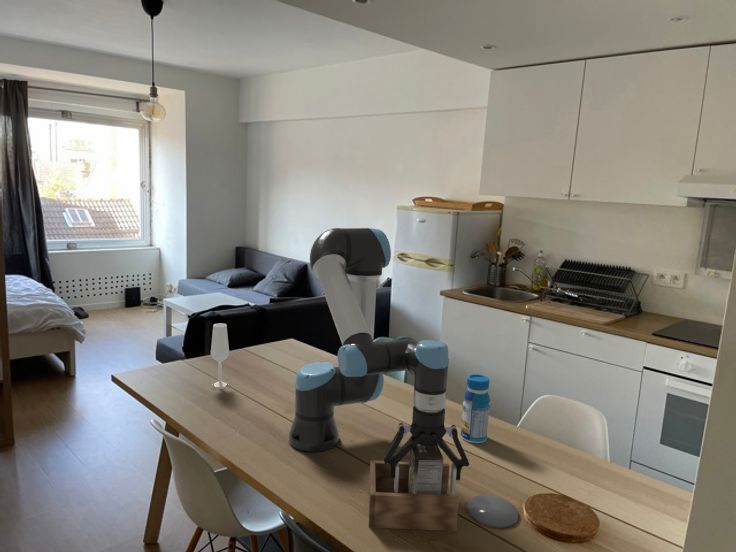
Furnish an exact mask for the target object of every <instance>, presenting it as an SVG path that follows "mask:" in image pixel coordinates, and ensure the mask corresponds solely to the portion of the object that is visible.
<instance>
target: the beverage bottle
mask: <svg viewBox="0 0 736 552" xmlns="http://www.w3.org/2000/svg"><path fill="white" fill-rule="evenodd" d="M466 387H467V390H466V391H465V392H464V394H463V402H462V416H461V430H460V437H461V438H462V440H463V441H465V442H467V443H471V444H482V443H485V442H486V441H487V439H488V430H489V429H488V427H489V416H490V410H491V407H490V403H491V397H490V396H491V395H490V394H489V392H488V390H489V388H490V378H489V377H488V376H486V375H483V374H477V373H476V374H475V373H474V374H469V375H468V376H467V379H466Z"/></svg>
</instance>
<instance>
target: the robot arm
mask: <svg viewBox="0 0 736 552" xmlns="http://www.w3.org/2000/svg"><path fill="white" fill-rule="evenodd" d="M391 249H392V248H391V244H390V241H389V239H388V237H387V235H386V233H385V232H384V231H382V230H381V229H377V228H372V227H371V228H370V227H357V228H356V227H349V228H346V227H345V228H344V227H343V228H342V227H334V228H330V229H327V230H325V231H323V232H322V233H321V234H320V235H318V237H317V238H316V239H315V241H314V242H313V243H312V246H311V249H310V252H309V266H310V268H311V270H312V274H313V276H314V277H315V278H317V279H318V280H319V283H320V285H321V288H322V291H323V294H324V297H325V300H326V303H327V306H328V308H329V311H330V313H331V316H332V320H333V322H334V325H335V328H336V330H337V333H338V337H339V338H340V341H341V345H342V346H340V347H339V349H338V351H337V362H338V366H335V364H333V363H332V362H329V361H323V362H322V361H316V362H315V361H314V362H310V363H307V364H305V365H303V366H301V367H300V368H298V371H297V372H296V376H295V383H294V385H295V386H294V387H295V398H294V399H295V402H294V403H295V405H294V410H295V411H294V418H293V421H292V423H291V426H290V429H289V431H288V443H289V445H290V446H291V447H292V448H294V449H296V450H299V451H302V452H309V453H317V452H324V451H328V450H330V449H333V448H334V447H335V446H337V445H338V443H339V438H340V437H339V434H340V433H339V429H338V425H337V423H336V419H335V415H334V413H335V407H340V406H347V405H353V404H360V403H362V404H365V403H367V402H368V403H369V402H372V401H375V400H377V399H378V398H379V397H380V396H381V394H382V392H383V388H384V382H385V380H384V379H385V378H384V377H385V376H384V374H390V373H397V372H399V373H400V372H408V373H410V374H411V375H413V376H414V383H413V399H412V400H413V401H412V404H413V406H412V419H411V420H412V422H411V424H410V425H404V423H403V422H400V423H399V424H398V428H397V433H395V435H394V437H393V438H392V440H391V442H390V444H389V446H388V447H387V449H386V450H385V452H384V453H383V461H384V463H388V464H390V465H391V468H390V476H391V478H395V480H394V490H395V492H396V493H398V480H399V462H402V461H401V460H403V459H404V457H406V456H407V455H408V453H409V454H410V451H411V449H412V448H414V447H416V446H417V445H418V444H420V445H421V446H425V445H429V446H434V445H436V444H437V445H438V447H439V449H441V451H442V452H443V453H444V454H445V455H446V456H447V458H448V459H449V461H451V462H452V463H451V467H450V470H451V471H450V481H449V482H450V485H449V489H450V493H451V495H452V496H456V495H455V494H456V486H457V485H456V483H457V482H456V481H461V475H462V474H461V473H462V470H463V467H469V466H470V462H469V459H468V456H467V454H466V452H465V451H464V448H463V446H462V443H461V441H460V439H459V437H458V436H459V434H458V433H459V432H458V429H457V426H456V425H455V424H452V425H451V426H446V427H445V420H446V419H445V418H446V417H445V416H446V409H445V408H446V402H447V401H446V399H447V385H448V384H447V383H448V375H449V374H448V373H449V364H450V361H449V360H450V359H449V346H448V345H447V343H445V342H443V341H440V340H439V341H438V340H435V339H424V340H419V341H418V340H417V339H415V338H413V337H410V336H407V335H398V336H396V337H394V338H393V339H392V340H390V341H378V342H377V341H376V342H375V341H374V337H375V336H374V333H375V321H376V320H375V318H376V317H375V316H376V314H375V313H376V301H377V300H376V299H377V297H376V296H377V280H378V279H379V278H380V277H382V276H383V269H385V268H387V267H388V266H389V264H390V262H391V258H392V256H391V255H392V250H391ZM409 432H410V434H411V435H410V437H409V438H408V440H407V441H406V442H405V443H404V444H403V445H402V446H401V447H400V448H399V449H398V447H399V445H400V444H401V442H402V440H403V438H404V436H406V435H407V434H408V433H409ZM446 434H448V436H449V437H450V438H452V440H453V443H454V445H455V447H456V450H457V452H458V454H459V456H460V459H459V458H458V456H457V455H456V454H455V453H454V452H453V450H452V449H451V447H449V445H448V444H447V443H446V442H445V440H444V439H443V438H444V436H445V435H446ZM397 449H398V450H397ZM396 450H397V451H396Z"/></svg>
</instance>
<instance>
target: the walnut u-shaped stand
mask: <svg viewBox="0 0 736 552" xmlns="http://www.w3.org/2000/svg"><path fill="white" fill-rule="evenodd" d="M369 462H370V465H369V467H370V468H369V481H368V482H369V485H368V487H369V488H368V528H382V529H398V530H399V529H402V530H403V529H404V530H424V531H425V530H426V531H428V530H429V531H445V532H446V531H447V532H448V531H449V532H451V531H452V532H453V531H454V532H456V531H457V526H458V516H459V514H458V512H459V502H460V499H459V495H452V494H451V495H448V493H449V491H448V489H449V481H450V480H449V478H450V477H449V476H450V468H451V467H450V463H444V462H443V470H442V483H441V495H428V494H408V482H409V464H410V461H400V462H399V480H398V493H396V492H395V490H394V480H395V478H391V476H390V468H391V465H390V464H388V463H384V460H373V459H372V460H369Z"/></svg>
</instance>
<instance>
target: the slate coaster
mask: <svg viewBox="0 0 736 552" xmlns="http://www.w3.org/2000/svg"><path fill="white" fill-rule="evenodd" d="M466 509H467V513H468V515H469V516H470V518H471V519H473V520H474V521H475V522H476V523H478V524H480V525H482V526H486V527H489V528H492V529H493V528H494V529H506V528H509V527H512V526H514V525H516V523H517V522H518V519H519V511H518V509H517V508H516V506H515V505H514V504H513V503H511V502H510V501H509V500H507V499H504V498H502V497H499V496H496V495H489V494H483V495H477V496H474V497H472V498H471V499H469V500H468V502H467V508H466Z"/></svg>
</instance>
